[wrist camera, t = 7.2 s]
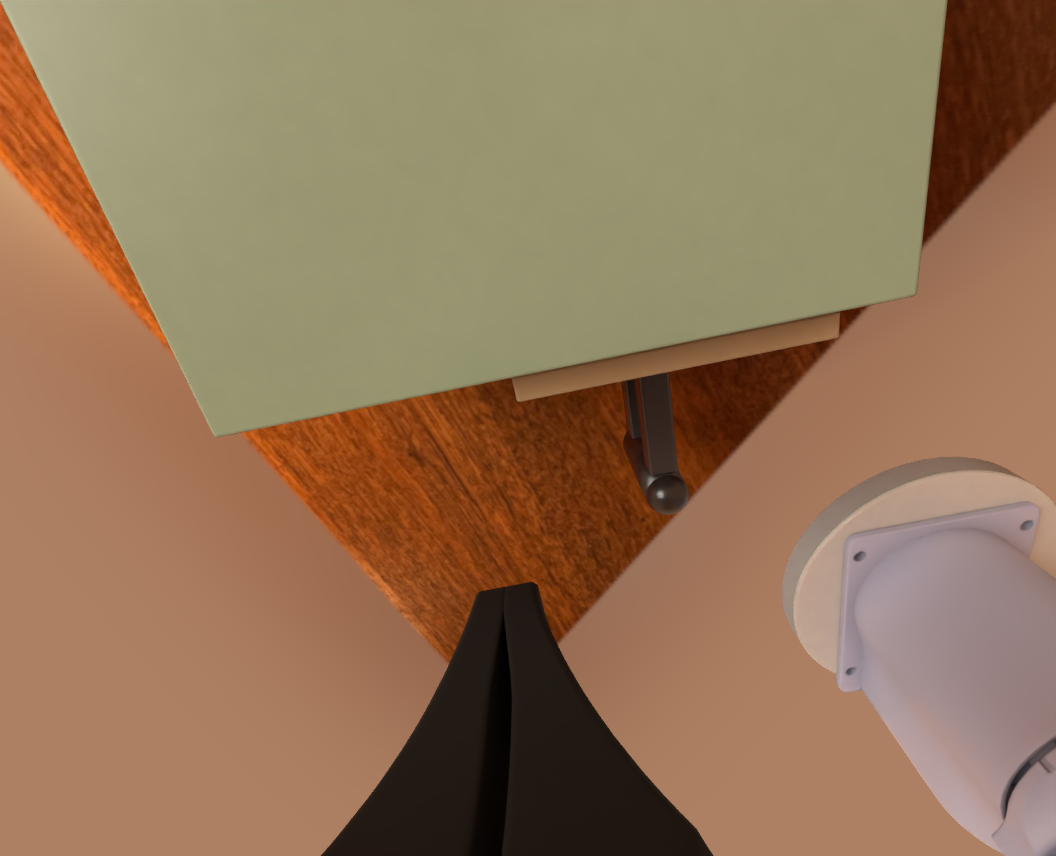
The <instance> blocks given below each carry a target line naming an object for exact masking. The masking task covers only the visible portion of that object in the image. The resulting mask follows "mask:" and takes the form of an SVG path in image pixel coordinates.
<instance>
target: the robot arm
mask: <svg viewBox="0 0 1056 856" xmlns="http://www.w3.org/2000/svg"><path fill="white" fill-rule="evenodd" d="M1039 517H1040V508H1039V507H1038V506H1036V505H1035V504H1033V503H1031V502H1029V501H1028V502H1019V503H1014V504H1009V505H1003V506H998V507H993V508H987V509H982V510H977V511H971V512H966V513H961V514H955V515H950V516H944V517H939V518H934V519H928V520H923V521H918V522H912V523H907V524H902V525H896V526H891V527H886V528H880V529H875V530H869V531H864V532H859V533H855V534H852V535H850V536H849V537H848V538H847V539H846V541H845V544H844V559H843V576H842V593H841V609H840V626H839V643H838V660H837V678H836V683H837V685H838V687H839V688H840V690H841V691H843V692H853V691H859V690H862V691H863V692H864V694H865V695H866V697H867V698H868V700H869V701H870V702H871V704H872V705H873V707H874V708H875V709H876V711H877V713H878V714H879V716H880V717H881V718H882V720H883V721H884V723H885V724H886V726H887V727H888V729H889V730H890V732H891V733H892V734H893V736H894V737H895V739H896V740H897V742H898V743H899V744H900V746H901V747H902V749H903V750H904V752H905V753H906V755H907V756H908V758H909V759H910V761H911V762H912V763H913V765H914V766H915V768H916V769H917V771H918V772H919V774H920V775H921V777H922V778H923V779H924V781H925V782H926V784H927V785H928V787H929V788H930V789H931V791H932V793H933V794H934V795H935V797H936V798H937V800H938V801H939V802H940V804H941V805H942V806H943V807H944V808H945V810H946V811H947V812H948V813H949V814H950V815H951V816H952V817H953V818H954V819H955V820H956V821H957V822H958V823H959V824H960V825H961V826H962V827H963V828H965V829H966V830H967V831H968V832H970V833H971V834H972V835H974V836H975V837H976V838H978V839H979V840H981V841H982V842H984V843H985V844H987V845H988V846H990V847H992V848H993V849H995V850H997V851H999V852H1000V853H1002V854H1004V856H1056V578H1054V577H1053V576H1052V575H1050V574H1049V573H1048V572H1046V571H1045V570H1044V569H1042V568H1041V567H1040V566H1038V565H1037V564H1036V563H1034V562H1033V561H1032V560H1030V555H1031V551H1032V546H1033V542H1034V538H1035V534H1036V530H1037V525H1038V521H1039ZM858 552H860V553H859V554H857V553H858ZM856 554H857V555H856ZM321 856H713V854H712V853H711V851H710V850H709V848H708V847H707V845H706V844H705V842H704V840H703V839H702V837H701V836H700V834H699V832H698V831H697V829H696V828H695V827H694V826H693V825H692V824H691V823H690V822H689V821H688V820H687V819H686V818H685V817H684V816H683V815H682V814H681V813H680V812H679V811H678V810H677V809H676V808H675V806H674V805H673V804H672V803H671V802H670V801H669V800H668V799H667V798H666V797H665V796H664V795H663V794H662V793H661V792H660V790H659V789H658V788H657V787H656V786H655V785H654V784H653V783H652V781H651V780H650V779H649V778H648V777H647V776H646V775H645V774H644V772H643V771H642V770H641V769H640V768H639V766H638V765H637V764H636V763H635V762H634V760H633V759H632V758H631V756H630V755H629V754H628V753H627V752H626V750H625V749H624V748H623V746H622V745H621V744H620V743H619V742H618V740H617V739H616V738H615V737H614V735H613V734H612V732H611V731H610V730H609V728H608V727H607V726H606V724H605V723H604V721H603V720H602V719H601V717H600V716H599V714H598V713H597V711H596V710H595V708H594V707H593V706H592V704H591V703H590V701H589V700H588V698H587V696H586V695H585V693H584V692H583V690H582V688H581V687H580V685H579V684H578V682H577V680H576V678H575V677H574V675H573V673H572V672H571V670H570V668H569V666H568V664H567V663H566V661H565V659H564V657H563V655H562V653H561V651H560V649H559V648H558V645H557V643H556V641H555V639H554V637H553V635H552V632H551V630H550V628H549V625H548V623H547V620H546V617H545V613H544V608H543V604H542V600H541V596H540V592H539V588H538V585H537V584H535V583H533V582H529V583H523V584H518V585H513V586H507V587H502V588H497V589H491V590H486V591H481V592H479V593H478V594H477V596H476V598H475V601H474V604H473V607H472V610H471V613H470V615H469V618H468V621H467V623H466V626H465V629H464V631H463V634H462V636H461V638H460V641H459V643H458V645H457V648H456V650H455V652H454V654H453V657H452V659H451V661H450V663H449V666H448V668H447V670H446V672H445V674H444V676H443V678H442V680H441V682H440V684H439V686H438V688H437V690H436V692H435V694H434V696H433V698H432V699H431V701H430V704H429V705H428V707H427V709H426V711H425V712H424V714H423V716H422V718H421V719H420V721H419V723H418V725H417V726H416V728H415V730H414V731H413V733H412V735H411V736H410V738H409V739H408V741H407V743H406V744H405V746H404V747H403V749H402V751H401V752H400V753H399V755H398V756H397V758H396V759H395V761H394V762H393V764H392V765H391V767H390V768H389V770H388V771H387V773H386V774H385V776H384V777H383V779H382V780H381V781H380V783H379V784H378V785H377V787H376V788H375V789H374V791H373V792H372V794H371V795H370V796H369V798H368V799H367V800H366V801H365V803H364V804H363V805H362V806H361V808H360V809H359V810H358V811H357V813H356V814H355V815H354V816H353V818H352V819H351V820H350V821H349V823H348V824H347V825H346V826H345V828H344V829H343V830H342V831H341V833H340V834H339V835H338V836H337V838H336V839H335V840H334V841H333V842H332V844H331V845H330V846H329V847H328V848H327V849H326V851H325V852H324V853H323V854H322V855H321Z"/></svg>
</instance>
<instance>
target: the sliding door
mask: <svg viewBox="0 0 1056 856" xmlns="http://www.w3.org/2000/svg"><path fill="white" fill-rule="evenodd" d="M839 327H840V313H839V312H834V313H829V314H824V315H819V316H814V317H809V318H804V319H799V320H794V321H789V322H785V323H780V324H775V325H770V326H765V327H760V328H755V329H750V330H745V331H740V332H735V333H730V334H725V335H720V336H715V337H711V338H706V339H701V340H696V341H691V342H686V343H681V344H676V345H671V346H666V347H661V348H656V349H651V350H646V351H641V352H636V353H632V354H627V355H622V356H617V357H612V358H607V359H602V360H597V361H592V362H587V363H582V364H577V365H572V366H567V367H562V368H557V369H553V370H548V371H543V372H538V373H533V374H528V375H523V376H518V377H513V378H512V382H513V386H514V391H515V395H516V399H517V401H518V402H521V401H526V400H531V399H536V398H541V397H546V396H551V395H556V394H561V393H566V392H571V391H576V390H581V389H586V388H591V387H596V386H601V385H606V384H611V383H616V382H621V384H622V391H623V399H624V406H625V414H626V421H627V429H628V432H627V433H626V434H625V436H624V440H623V446H624V450H625V452H626V454H627V457H628V459H629V461H630V464H631V466H632V468H633V470H634V473H635V475H636V477H637V479H638V482H639V484H640V486H641V489H642V491H643V493H644V495H645V498H646V500H647V502H648V504H649V505H650V507H651V508H652V509H654V510H655V511H656V512H658V513H661V514H666V515H669V514H674V513H677V512H679V511H680V510H681V509H682V508H683V507H684V506H685V505H686V503H687V500H688V488H687V485H686V483H685V482H684V480H683V478H682V476H681V475H680V473H679V471H678V470H677V469H678V466H677V455H676V445H675V434H674V423H673V412H672V402H671V391H670V380H669V372H671V371H676V370H681V369H686V368H691V367H696V366H701V365H706V364H711V363H716V362H721V361H726V360H731V359H735V358H740V357H745V356H750V355H755V354H760V353H765V352H770V351H775V350H780V349H785V348H790V347H795V346H800V345H805V344H810V343H815V342H820V341H825V340H830V339H835V338H838V337H839Z"/></svg>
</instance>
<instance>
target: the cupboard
mask: <svg viewBox="0 0 1056 856" xmlns="http://www.w3.org/2000/svg"><path fill="white" fill-rule="evenodd" d="M0 2H1V4H2V6H3V8H4V10H5V12H6V14H7V16H8V18H9V20H10V22H11V24H12V26H13V28H14V30H15V32H16V34H17V36H18V38H19V40H20V43H21V45H22V47H23V49H24V51H25V53H26V55H27V57H28V59H29V61H30V63H31V65H32V67H33V69H34V71H35V73H36V75H37V77H38V79H39V81H40V83H41V85H42V87H43V89H44V91H45V93H46V95H47V97H48V99H49V101H50V104H51V106H52V108H53V110H54V112H55V114H56V116H57V118H58V120H59V122H60V124H61V126H62V128H63V130H64V132H65V134H66V136H67V138H68V140H69V142H70V144H71V146H72V148H73V150H74V152H75V154H76V156H77V158H78V160H79V163H80V165H81V167H82V169H83V171H84V173H85V175H86V177H87V179H88V181H89V183H90V185H91V187H92V189H93V191H94V193H95V195H96V197H97V199H98V201H99V203H100V205H101V207H102V209H103V211H104V213H105V215H106V217H107V219H108V221H109V224H110V226H111V228H112V230H113V232H114V234H115V236H116V238H117V240H118V242H119V244H120V246H121V248H122V250H123V252H124V254H125V256H126V258H127V260H128V262H129V264H130V266H131V268H132V270H133V272H134V274H135V276H136V278H137V280H138V282H139V285H140V287H141V289H142V291H143V293H144V295H145V297H146V299H147V301H148V303H149V305H150V307H151V309H152V311H153V313H154V315H155V317H156V319H157V321H158V323H159V325H160V327H161V329H162V331H163V333H164V335H165V337H166V339H167V341H168V344H169V346H170V348H171V350H172V352H173V354H174V356H175V358H176V360H177V362H178V364H179V366H180V368H181V370H182V372H183V374H184V376H185V378H186V380H187V382H188V384H189V386H190V388H191V390H192V392H193V394H194V396H195V398H196V400H197V402H198V405H199V407H200V409H201V411H202V413H203V415H204V417H205V419H206V421H207V423H208V425H209V427H210V429H211V431H212V433H213V435H214V436H215V437H221V436H226V435H232V434H237V433H242V432H246V431H251V430H256V429H261V428H266V427H271V426H276V425H281V424H286V423H291V422H296V421H301V420H306V419H311V418H316V417H321V416H325V415H330V414H335V413H340V412H345V411H350V410H355V409H360V408H365V407H370V406H375V405H380V404H385V403H390V402H395V401H399V400H404V399H409V398H414V397H419V396H424V395H429V394H434V393H439V392H444V391H449V390H454V389H459V388H464V387H469V386H474V385H478V384H483V383H488V382H493V381H498V380H503V379H508V378H513V377H518V376H523V375H528V374H533V373H538V372H543V371H548V370H553V369H557V368H562V367H567V366H572V365H577V364H582V363H587V362H592V361H597V360H602V359H607V358H612V357H617V356H622V355H627V354H632V353H636V352H641V351H646V350H651V349H656V348H661V347H666V346H671V345H676V344H681V343H686V342H691V341H696V340H701V339H706V338H711V337H715V336H720V335H725V334H730V333H735V332H740V331H745V330H750V329H755V328H760V327H765V326H770V325H775V324H780V323H785V322H789V321H794V320H799V319H804V318H809V317H814V316H819V315H824V314H829V313H834V312H839V311H844V310H849V309H854V308H859V307H864V306H868V305H873V304H878V303H883V302H888V301H893V300H898V299H903V298H908V297H912V296H915V295H916V293H917V287H918V278H919V269H920V259H921V249H922V240H923V230H924V220H925V211H926V201H927V192H928V182H929V172H930V163H931V153H932V143H933V134H934V124H935V115H936V105H937V95H938V86H939V76H940V66H941V57H942V47H943V38H944V28H945V18H946V9H947V0H0Z"/></svg>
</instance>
